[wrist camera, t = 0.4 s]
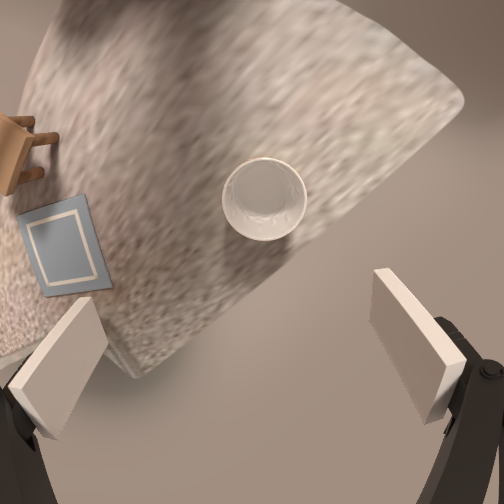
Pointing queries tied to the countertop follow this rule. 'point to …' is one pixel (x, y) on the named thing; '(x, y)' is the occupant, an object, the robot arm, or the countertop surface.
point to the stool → (19, 151)
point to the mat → (64, 248)
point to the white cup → (264, 199)
